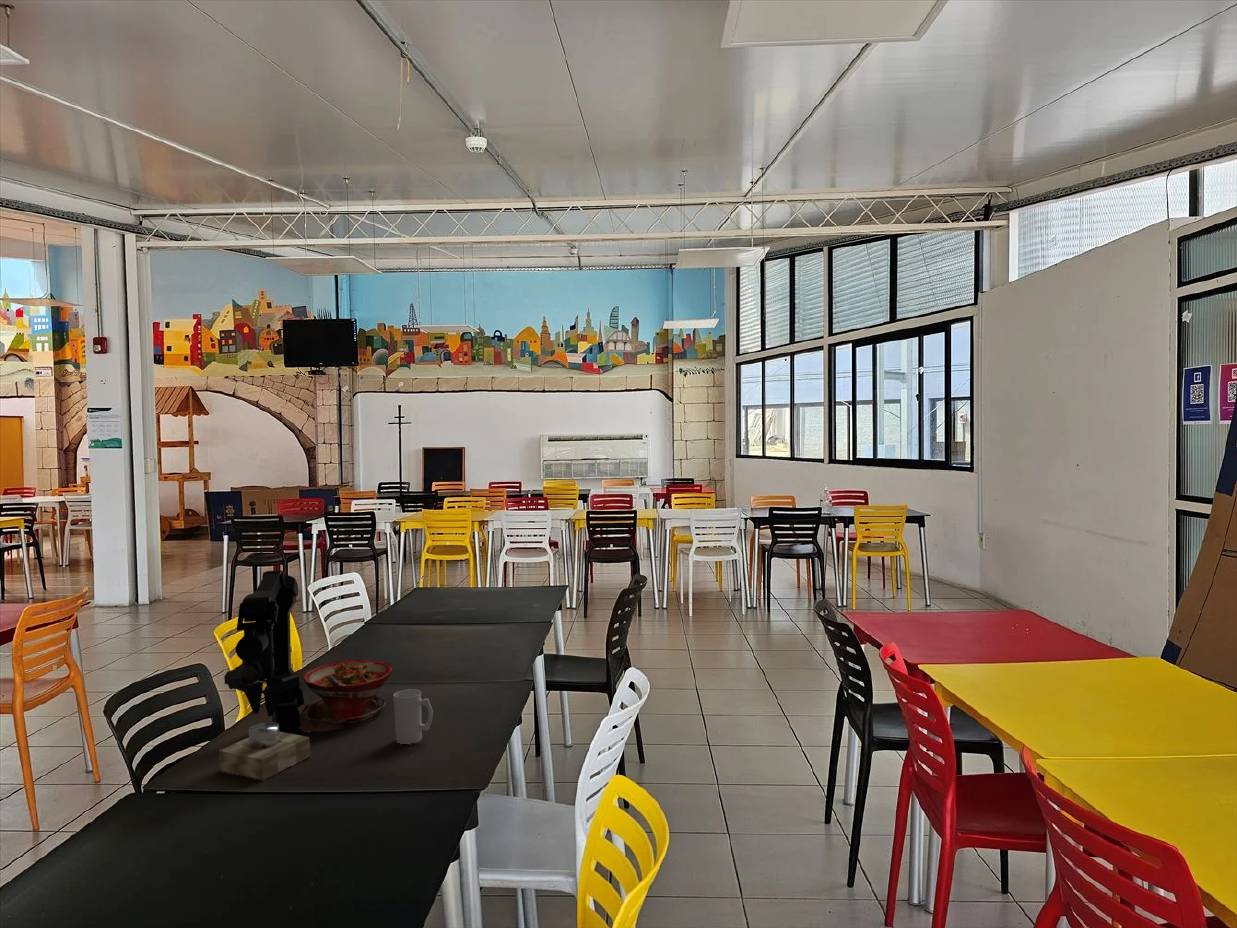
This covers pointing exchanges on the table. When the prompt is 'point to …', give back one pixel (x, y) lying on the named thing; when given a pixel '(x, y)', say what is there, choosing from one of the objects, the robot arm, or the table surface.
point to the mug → (410, 716)
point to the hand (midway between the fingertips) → (263, 714)
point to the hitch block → (264, 756)
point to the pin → (264, 735)
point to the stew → (343, 694)
